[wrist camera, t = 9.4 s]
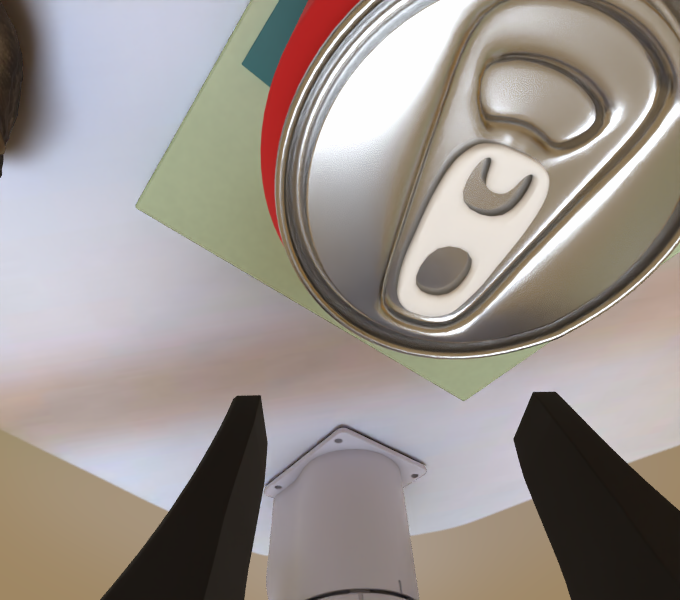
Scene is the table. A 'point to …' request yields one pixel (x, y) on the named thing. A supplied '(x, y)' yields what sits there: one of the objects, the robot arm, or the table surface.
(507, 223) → the beverage can
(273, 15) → the board
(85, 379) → the table surface
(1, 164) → the brown rock
